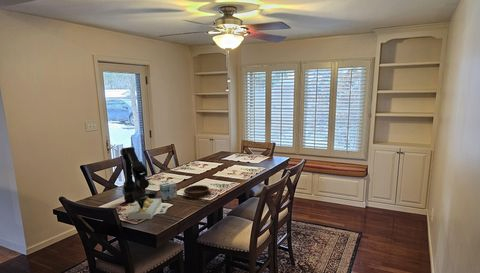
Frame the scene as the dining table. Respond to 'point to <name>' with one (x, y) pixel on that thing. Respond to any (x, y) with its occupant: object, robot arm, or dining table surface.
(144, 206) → the button
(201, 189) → the dish
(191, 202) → the dining table surface
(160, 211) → the card
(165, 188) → the light bulb box
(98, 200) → the dining table surface
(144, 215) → the board
